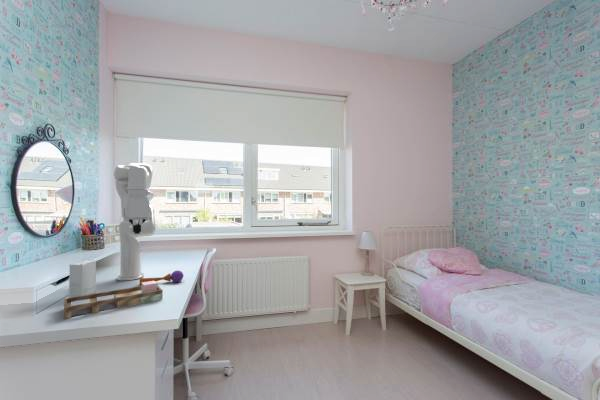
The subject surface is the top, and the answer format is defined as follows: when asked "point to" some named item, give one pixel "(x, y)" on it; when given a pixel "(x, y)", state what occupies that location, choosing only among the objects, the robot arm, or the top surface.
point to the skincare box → (82, 278)
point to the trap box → (110, 301)
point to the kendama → (166, 277)
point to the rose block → (148, 286)
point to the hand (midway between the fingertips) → (136, 233)
